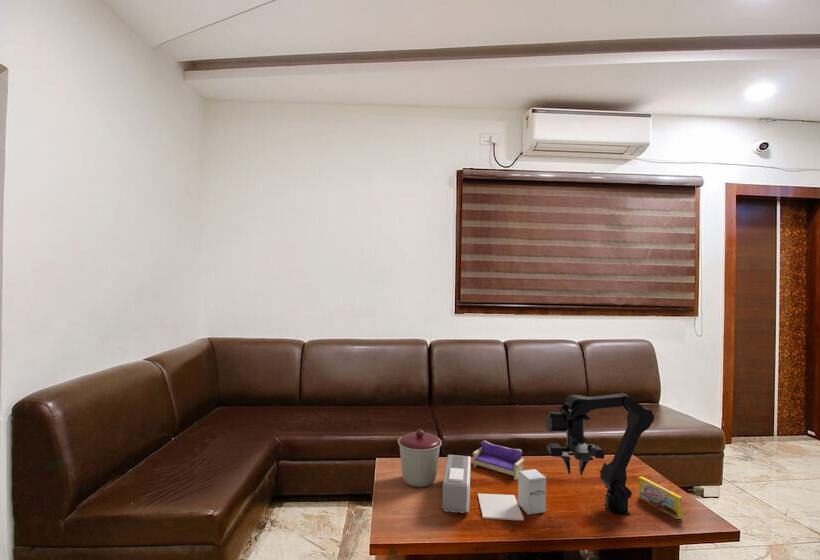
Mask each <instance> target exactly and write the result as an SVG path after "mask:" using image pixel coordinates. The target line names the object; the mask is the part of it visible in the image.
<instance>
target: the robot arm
mask: <svg viewBox="0 0 820 560" xmlns="http://www.w3.org/2000/svg"><path fill="white" fill-rule="evenodd" d="M618 407H622V408H623V409H624V410H625V411H627V416H626V423H627V426H626V428H625V431H624V434H623V436H622V438H621V441H620V443H619V445H618V447H617V448H616V452H615V454H614V456H613V458H612V460H611V462H609V463H606V462H603V464H602V467H601V470H599V473H600V475H599V478H600V481H601V482H602V484H603V485H604V487H605V488H606V494H605V503H604V506H605V507H606V508H607V509H608V510H609V512H610V513H611V514H613V515H631V512H630V511H629V499H631V497H632V495H633V493H632V491H631V490H630V489H629V488H628V486H626V483H627V480H628V478H627V477H628V476H627V468H628V466H629V463H630V460H631V458H632V456H633V454H634V451H635V449H636V447H637V445H638V443H639V440H640V438H641V436H642V434H643V433H644V432H645V431H647V430H648V429H649V428H650V427H651V426H652V425H653V422H654V420H655V415H654V413H653V411H652V410H650V409H648V408H647V407H645V406H642V405H641V404H640V403H639V402H637V401H635V400H634V399H633V398H632V397H631V396H630V395H628V394H626V393H623V392H620V393H614V394H605V395H596V396H594V395H593V396H586V395H582V394H580V395H579V394H569V395H567V397H566V398H565V401H564V403H563V404H562V405H561V407H559V409H558V412H555V411H554V412H553V411H548V412H547V415H546V418H545V423H544V424H545V428H546V430H547V432H550V433H555V432H557V433H559V432H561V433H562V432H563V433H564V432H565V434H566V441H565V446H561V445H560V444H559V443H556V442H555V443H550V442H548V444H547V445H546V447H547V448H546V450H547V452H548V453H549V455H550V456H551V457H555V458H556V457H557V458H561V459H562V460H563V462H564V463H563V464H564V466H565V469H566V471H567V474H568V475H569V476H570V475H571V462H570V461H571V457H570V456H569V455H570V454H573V456H574V459H576V460H577V461H579V462H578V464H579V465H578V467H579V469H578V470H579V471H578V472H579V475H580V476H582V475H583V474H584V471H585V469H586V467H587V465H588V463H589V462H590V461H593V460H594V458H595V459H601V460H602V459H605V452H604V450H603V449H602V448H601V447H600V446H599V445H597V444H589V443H587V441H586V436H585V421H590V420H591V418H590V416H588V415H587V414H589V413H591V412H592V411H593V410H598V409H608V408H609V409H610V408H618ZM593 457H594V458H593Z"/></svg>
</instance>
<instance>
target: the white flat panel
mask: <svg viewBox="0 0 820 560" xmlns="http://www.w3.org/2000/svg"><path fill="white" fill-rule="evenodd" d="M477 497H478V502H479V506H480V512H481V514H482V519H484V518H485V519H486V520H487V519H488V520H507V521H509V520H510V521H524V520H525V518H524V515H523V513H522V510H521V509H520V508H521V507H520V506H519V505H518V499H517V498H516V496H515V494H499V493H480V492H479V493H477ZM485 519H484V520H485Z"/></svg>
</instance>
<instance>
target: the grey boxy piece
mask: <svg viewBox="0 0 820 560" xmlns="http://www.w3.org/2000/svg"><path fill="white" fill-rule="evenodd" d="M470 492H471V456H470V455H469V456H468V455H458V454H457V455H455V454H447V459H446V464H445V469H444V474H443V481H442V504H441V505H442V510H444V512H449V511H451V513H458V512H460V513H461V514H465V513H469V512H470V499H471V498H470V495H471V493H470Z"/></svg>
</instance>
